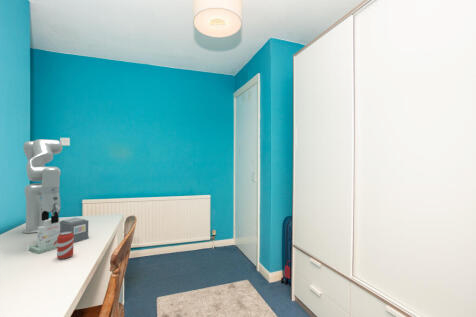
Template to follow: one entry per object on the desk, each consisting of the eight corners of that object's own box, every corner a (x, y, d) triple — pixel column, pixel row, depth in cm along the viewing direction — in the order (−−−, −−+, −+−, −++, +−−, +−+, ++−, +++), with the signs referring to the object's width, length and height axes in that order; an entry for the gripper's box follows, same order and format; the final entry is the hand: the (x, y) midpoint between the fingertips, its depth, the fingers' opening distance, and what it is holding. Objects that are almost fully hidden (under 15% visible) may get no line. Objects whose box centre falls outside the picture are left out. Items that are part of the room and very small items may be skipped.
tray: (28, 250, 119) (28, 246, 119) (59, 241, 132) (59, 238, 132) (38, 253, 115) (38, 250, 115) (69, 244, 127) (69, 241, 127)
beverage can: (53, 259, 109) (54, 234, 109) (67, 253, 115) (67, 230, 115) (63, 260, 108) (63, 235, 108) (76, 255, 114) (76, 231, 114)
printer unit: (58, 240, 134) (58, 220, 134) (76, 235, 143) (76, 217, 143) (70, 243, 128) (70, 223, 129) (88, 238, 138) (88, 219, 138)
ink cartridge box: (53, 243, 128) (54, 217, 128) (60, 244, 127) (60, 217, 127) (36, 248, 120) (37, 221, 120) (43, 249, 119) (44, 221, 119)
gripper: (67, 191, 123) (66, 222, 123) (50, 188, 131) (49, 217, 131) (50, 192, 116) (50, 225, 117) (34, 189, 124) (33, 220, 124)
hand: (49, 221), depth 124 cm, fingers open, 9 cm apart
